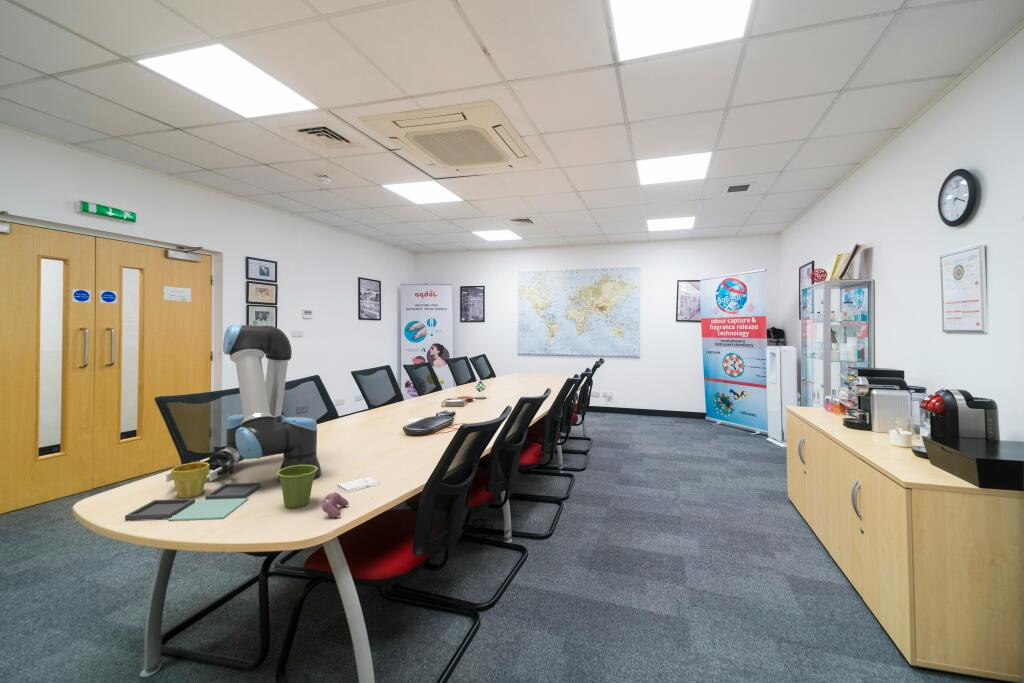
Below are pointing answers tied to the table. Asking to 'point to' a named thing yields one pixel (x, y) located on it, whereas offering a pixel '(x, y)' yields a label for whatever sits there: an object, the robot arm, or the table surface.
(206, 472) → the plant pot
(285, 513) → the table surface
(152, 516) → the tray
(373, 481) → the white flat block
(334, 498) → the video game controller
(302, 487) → the plant pot
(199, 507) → the pad
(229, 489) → the tray
